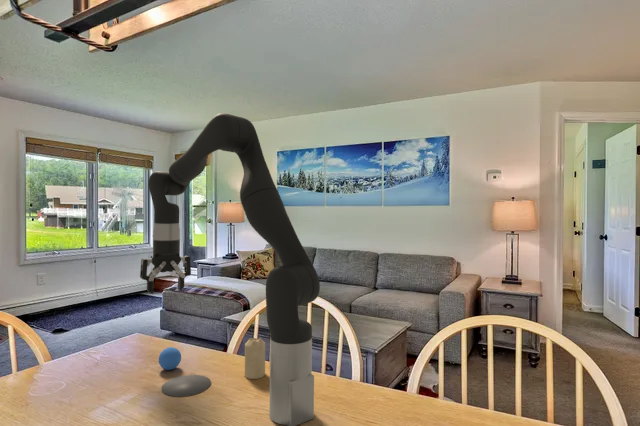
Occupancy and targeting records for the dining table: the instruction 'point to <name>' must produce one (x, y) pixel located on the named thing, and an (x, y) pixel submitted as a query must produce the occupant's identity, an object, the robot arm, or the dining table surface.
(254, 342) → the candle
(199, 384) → the disc
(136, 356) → the dining table surface
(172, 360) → the ball
